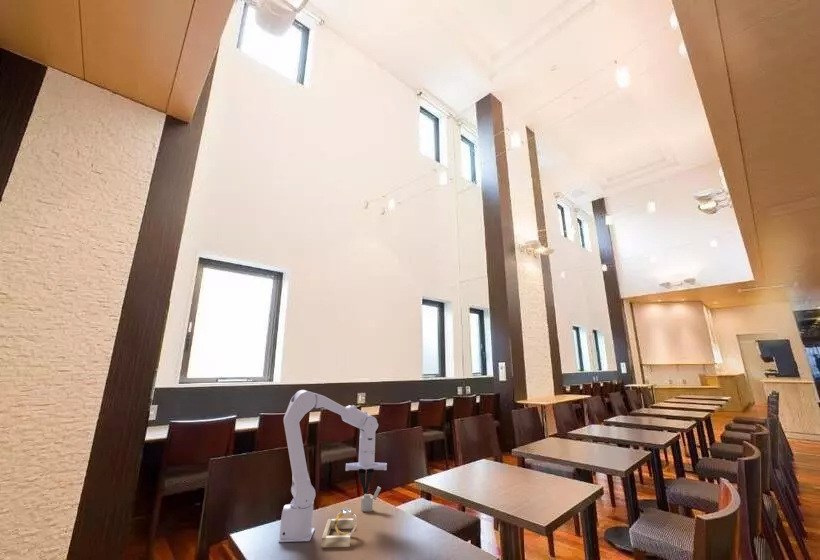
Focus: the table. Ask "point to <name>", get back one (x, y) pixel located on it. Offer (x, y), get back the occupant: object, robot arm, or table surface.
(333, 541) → the keeper
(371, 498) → the lighter
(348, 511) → the ring
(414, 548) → the table surface
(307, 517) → the robot arm
